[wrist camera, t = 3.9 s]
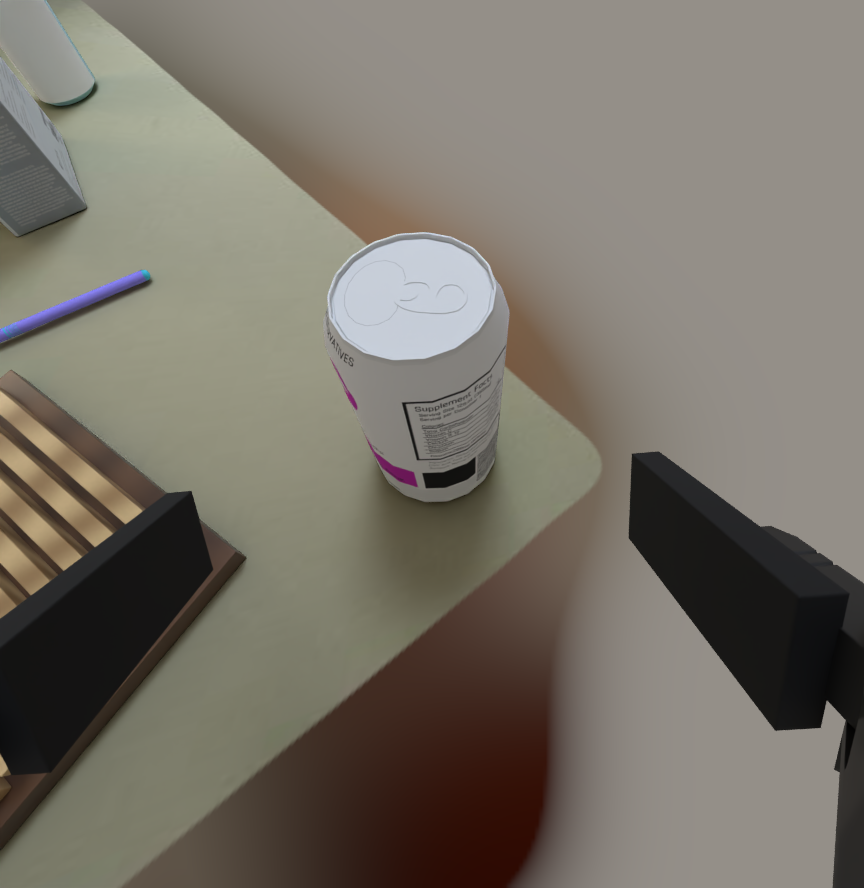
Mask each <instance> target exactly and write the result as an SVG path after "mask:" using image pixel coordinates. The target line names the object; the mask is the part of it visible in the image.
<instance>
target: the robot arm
mask: <svg viewBox="0 0 864 888" xmlns="http://www.w3.org/2000/svg"><path fill="white" fill-rule="evenodd" d="M629 539H630V540H631V541H632V543H633V544H634V545H635V546H636V548H637V549H638V551H639V552H640V553H641V555H642V556H643V557H644V558H645V560H646V561H647V562H648V564H649V565H650V566H651V568H652V569H653V570H654V571H655V573H656V574H657V576H658V577H659V578H660V580H661V581H662V582H663V584H664V585H665V586H666V588H667V589H668V590H669V591H670V593H671V594H672V595H673V597H674V598H675V599H676V601H677V602H678V603H679V605H680V606H681V607H682V609H683V610H684V611H685V612H686V614H687V615H688V616H689V618H690V619H691V620H692V622H693V623H694V624H695V626H696V627H697V628H698V630H699V631H700V632H701V634H702V635H703V636H704V637H705V639H706V640H707V641H708V643H709V644H710V645H711V646H712V648H713V649H714V651H715V652H716V653H717V655H718V656H719V657H720V659H721V660H722V661H723V662H724V664H725V665H726V666H727V668H728V669H729V670H730V672H731V673H732V674H733V676H734V677H735V678H736V679H737V681H738V682H739V684H740V685H741V686H742V687H743V689H744V690H745V691H746V693H747V694H748V695H749V697H750V698H751V699H752V701H753V702H754V703H755V705H756V706H757V707H758V709H759V710H760V711H761V712H762V714H763V715H764V716H765V718H766V719H767V720H768V722H769V723H770V724H771V725H772V727H773V728H774V730H776V731H777V730H792V729H810V728H821V724H822V719H823V714H824V710H825V705H826V701H828V702H829V703H830V704H831V705H832V706H833V707H834V708H835V709H836V710H837V711H838V712H839V713H840V714H841V715H842V716H843V718H844V719H845V720H846V722H845V726H844V730H843V734H842V738H841V743H840V747H839V751H838V755H837V760H836V764H835V768H834V770H836V771H838V772H840V777H839V793H838V794H839V796H838V810H837V826H836V842H835V858H834V875H833V888H864V584H863V583H862V582H861V581H859V580H858V579H856V578H855V577H854V576H852V575H851V574H849V573H848V572H846V571H845V570H844V569H842V568H841V567H839V566H838V565H833V562H832V561H831V560H829V559H828V558H826V557H825V556H823V555H822V554H820V553H817V552H816V550H814V549H813V548H812V547H811V546H809V545H808V544H806V543H805V542H803V541H802V540H800V539H799V538H798V537H796V536H793V535H791V534H789V533H786V532H784V531H781V530H779V529H776V528H774V527H772V526H765V527H760V526H758V525H757V524H756V523H754V522H753V521H752V520H750V519H749V518H748V517H746V516H745V515H743V514H742V513H741V512H740V511H738V510H737V509H735V508H734V507H733V506H731V505H730V504H729V503H727V502H726V501H725V500H723V499H722V498H721V497H719V496H718V495H717V494H715V493H714V492H713V491H711V490H710V489H708V488H707V487H706V486H705V485H703V484H702V483H700V482H699V481H698V480H696V479H695V478H694V477H692V476H691V475H690V474H688V473H687V472H686V471H684V470H683V469H681V468H680V467H679V466H678V465H676V464H675V463H674V462H672V461H671V460H670V459H668V458H667V457H666V456H664V455H662V454H661V453H660V452H648V453H636V454H632V467H631V492H630V517H629ZM212 571H213V566H212V562H211V559H210V555H209V552H208V548H207V545H206V541H205V538H204V534H203V530H202V527H201V523H200V520H199V516H198V513H197V509H196V506H195V502H194V498H193V495H192V491H186V492H175V493H166V494H165V495H164V496H162V497H161V498H160V499H158V500H157V501H156V502H154V503H153V504H152V505H150V506H149V507H148V508H146V509H145V510H144V511H142V512H141V513H140V514H139V515H137V516H136V517H135V518H133V519H132V520H131V521H129V522H128V523H127V524H125V525H124V526H123V527H121V528H120V529H119V530H117V531H116V532H115V533H113V534H112V535H111V536H109V537H108V538H107V539H105V540H104V541H103V542H101V543H100V544H99V545H97V546H96V547H95V548H93V549H92V550H91V551H89V552H88V553H87V554H85V555H84V556H83V557H81V558H80V559H79V560H77V561H76V562H75V563H73V564H72V565H71V566H69V567H68V568H67V569H66V570H64V571H63V572H62V573H60V574H59V575H58V576H56V577H55V578H54V579H52V580H51V581H50V582H48V583H47V584H46V585H44V586H43V587H42V588H40V589H39V590H38V591H36V592H35V593H34V594H32V595H31V596H30V597H28V598H27V599H26V600H24V601H23V602H22V603H20V604H19V605H18V606H16V607H15V608H14V609H12V610H11V611H10V612H8V613H7V614H6V615H4V616H3V617H2V618H0V754H1V756H2V758H3V760H4V762H5V764H6V766H7V768H8V770H9V772H10V773H11V775H24V774H41V773H51V772H52V771H53V770H54V768H55V767H56V766H57V765H58V763H59V762H60V761H61V760H62V758H63V757H64V756H65V755H66V753H67V752H68V751H69V750H70V748H71V747H72V746H73V745H74V743H75V742H76V741H77V740H78V738H79V737H80V736H81V735H82V733H83V732H84V731H85V730H86V728H87V727H88V726H89V725H90V723H91V722H92V721H93V720H94V718H95V717H96V716H97V715H98V713H99V712H100V711H101V710H102V708H103V707H104V706H105V705H106V703H107V702H108V701H109V700H110V698H111V697H112V696H113V695H114V693H115V692H116V691H117V690H118V688H119V687H120V686H121V685H122V683H123V682H124V681H125V680H126V678H127V677H128V676H129V675H130V673H131V672H132V671H133V670H134V668H135V667H136V666H137V665H138V663H139V662H140V661H141V660H142V658H143V657H144V656H145V655H146V653H147V652H148V651H149V650H150V648H151V647H152V646H153V645H154V643H155V642H156V641H157V640H158V638H159V637H160V636H161V635H162V633H163V632H164V631H165V630H166V628H167V627H168V626H169V625H170V623H171V622H172V621H173V620H174V618H175V617H176V616H177V615H178V613H179V612H180V611H181V610H182V608H183V607H184V606H185V605H186V603H187V602H188V601H189V600H190V598H191V597H192V596H193V595H194V593H195V592H196V591H197V590H198V588H199V587H200V586H201V585H202V583H203V582H204V581H205V580H206V578H207V577H208V576H209V575H210V573H211V572H212Z"/></svg>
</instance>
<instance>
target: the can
mask: <svg viewBox="0 0 864 888" xmlns="http://www.w3.org/2000/svg"><path fill="white" fill-rule="evenodd" d="M0 47H1V49H2V50H3V51H4V53H5V54H6V55H7V57H8V58H9V59H10V61H11V62H12V63H13V65H14V66H15V67H16V69H17V70H18V71H19V73H20V74H21V75H22V77H23V78H24V79H25V81H26V82H27V83H28V85H29V86H30V87H31V89H32V90H33V91H34V93H35V94H36V95H37V97H38V98H39V99H40V100H41V101H43V102H46V103H49V104H53V105H57V106H64V105H70V104H73V103H76V102H78V101H80V100H82V99H84V98H85V97H87V96H88V95H89V94H90V93H91V91H92V89H93V85H94V82H95V77H94V75H93V74H92V72H91V71H90V69H89V68H88V66H87V64H86V63H85V61H84V60H83V58H82V56H81V55H80V53H79V52H78V50H77V49H76V47H75V45H74V44H73V42H72V41H71V39H70V37H69V36H68V34H67V33H66V31H65V29H64V28H63V26H62V25H61V23H60V22H59V20H58V18H57V17H56V15H55V14H54V12H53V10H52V9H51V7H50V6H49V4H48V2H47V1H46V0H0Z"/></svg>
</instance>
